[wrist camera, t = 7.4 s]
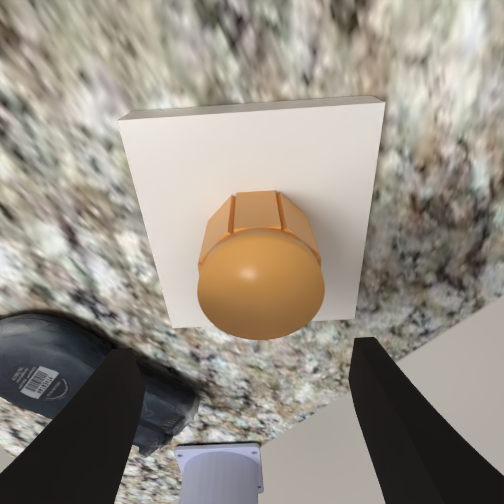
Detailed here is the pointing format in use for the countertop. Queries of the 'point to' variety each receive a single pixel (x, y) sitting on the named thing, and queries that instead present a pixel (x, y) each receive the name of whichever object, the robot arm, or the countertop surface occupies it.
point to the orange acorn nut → (259, 267)
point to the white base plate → (256, 183)
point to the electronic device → (82, 376)
